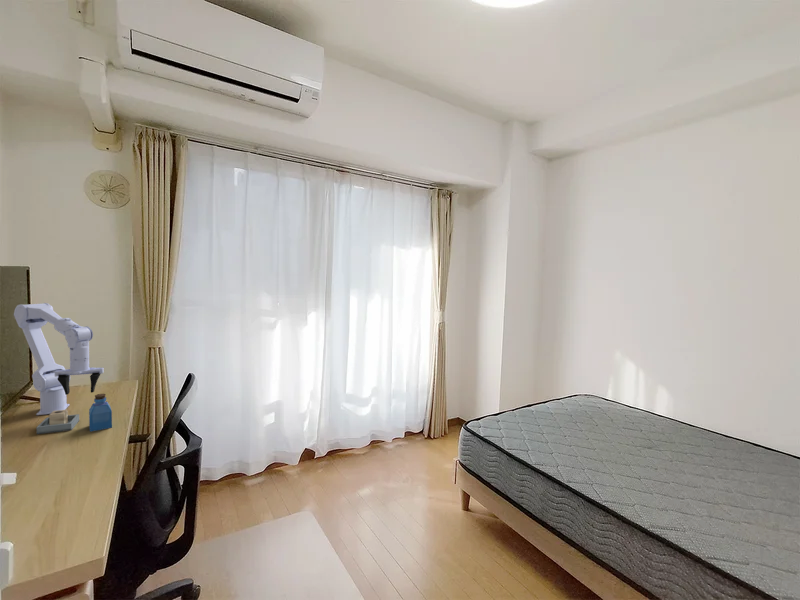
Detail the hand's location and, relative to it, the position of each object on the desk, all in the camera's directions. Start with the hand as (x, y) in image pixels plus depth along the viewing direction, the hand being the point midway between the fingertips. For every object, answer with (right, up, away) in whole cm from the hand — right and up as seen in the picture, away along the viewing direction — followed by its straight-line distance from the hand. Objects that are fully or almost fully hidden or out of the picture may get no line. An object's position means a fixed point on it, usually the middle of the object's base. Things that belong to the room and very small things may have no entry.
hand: (80, 392), depth 147 cm
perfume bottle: (+14, -11, -8) cm, 19 cm away
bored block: (0, -10, -10) cm, 13 cm away
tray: (0, -10, -10) cm, 14 cm away
